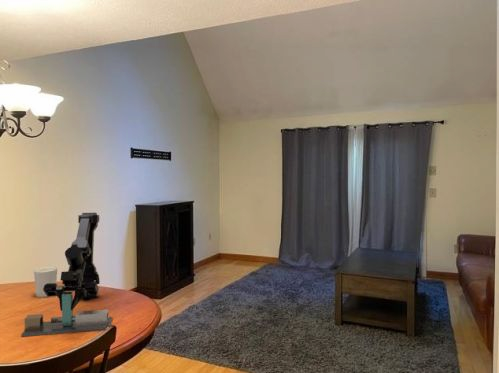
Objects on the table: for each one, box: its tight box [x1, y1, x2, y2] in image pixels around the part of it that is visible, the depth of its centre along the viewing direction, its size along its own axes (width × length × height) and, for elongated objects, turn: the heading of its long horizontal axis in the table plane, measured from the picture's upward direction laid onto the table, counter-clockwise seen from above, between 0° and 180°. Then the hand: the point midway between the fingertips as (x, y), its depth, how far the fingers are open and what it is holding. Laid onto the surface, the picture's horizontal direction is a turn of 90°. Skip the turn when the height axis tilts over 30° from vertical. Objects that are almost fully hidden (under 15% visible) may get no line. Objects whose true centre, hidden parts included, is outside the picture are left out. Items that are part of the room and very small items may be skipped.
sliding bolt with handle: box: [50, 291, 75, 326], centre depth 140 cm, size 18×3×12 cm, turn 102°
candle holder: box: [33, 266, 58, 298], centre depth 177 cm, size 10×10×12 cm
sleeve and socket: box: [20, 308, 113, 337], centre depth 139 cm, size 29×10×5 cm, turn 102°
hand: (66, 310), depth 138 cm, fingers closed on sliding bolt with handle, 3 cm apart
